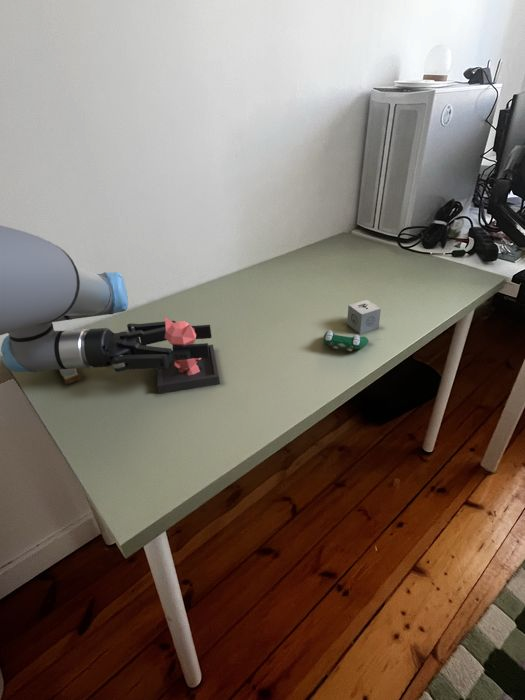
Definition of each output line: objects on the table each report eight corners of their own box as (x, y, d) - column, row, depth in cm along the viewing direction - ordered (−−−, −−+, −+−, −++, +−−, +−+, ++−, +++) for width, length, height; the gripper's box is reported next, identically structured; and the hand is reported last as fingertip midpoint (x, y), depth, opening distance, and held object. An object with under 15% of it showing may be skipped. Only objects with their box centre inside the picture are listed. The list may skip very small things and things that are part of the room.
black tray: (159, 393, 82) (157, 386, 81) (159, 359, 91) (157, 352, 90) (220, 384, 83) (219, 376, 82) (213, 351, 93) (212, 344, 92)
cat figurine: (212, 365, 88) (203, 315, 80) (191, 385, 83) (180, 334, 76) (184, 355, 91) (174, 306, 83) (163, 374, 86) (150, 324, 79)
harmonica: (48, 354, 95) (45, 346, 94) (62, 349, 97) (59, 341, 96) (65, 385, 85) (62, 377, 84) (81, 379, 87) (78, 371, 86)
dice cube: (365, 318, 101) (366, 299, 98) (378, 328, 97) (380, 308, 95) (347, 324, 100) (348, 304, 97) (360, 334, 96) (361, 314, 93)
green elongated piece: (323, 348, 95) (318, 342, 89) (327, 332, 95) (322, 325, 90) (365, 356, 92) (363, 350, 86) (369, 338, 92) (367, 332, 87)
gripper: (107, 338, 94) (214, 331, 94) (80, 395, 78) (208, 386, 78) (98, 307, 89) (210, 300, 89) (67, 361, 73) (203, 352, 74)
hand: (209, 340), depth 84 cm, fingers closed on cat figurine, 6 cm apart
